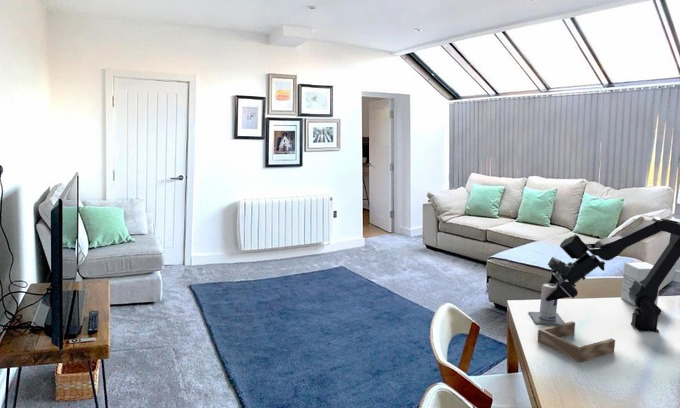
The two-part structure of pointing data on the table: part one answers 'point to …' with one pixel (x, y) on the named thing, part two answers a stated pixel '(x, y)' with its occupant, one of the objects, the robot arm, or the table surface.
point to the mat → (539, 320)
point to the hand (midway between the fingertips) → (544, 296)
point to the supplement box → (634, 277)
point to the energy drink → (548, 303)
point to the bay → (579, 354)
